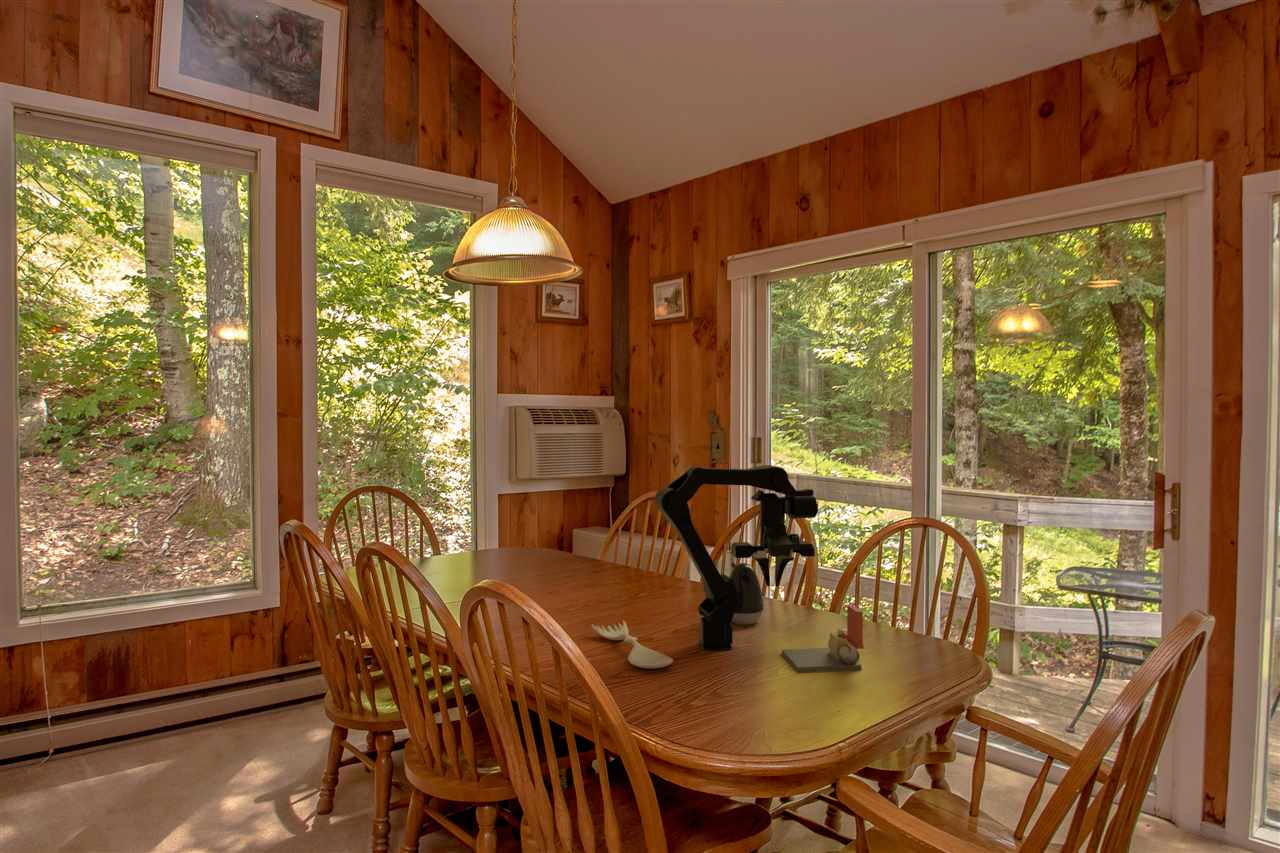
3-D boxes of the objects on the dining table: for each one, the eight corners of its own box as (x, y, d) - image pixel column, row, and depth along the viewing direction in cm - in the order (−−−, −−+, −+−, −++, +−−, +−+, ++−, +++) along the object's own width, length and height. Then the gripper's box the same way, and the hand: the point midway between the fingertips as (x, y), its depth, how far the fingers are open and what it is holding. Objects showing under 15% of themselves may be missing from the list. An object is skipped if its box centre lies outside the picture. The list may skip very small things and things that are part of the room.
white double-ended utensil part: (624, 632, 192) (624, 618, 191) (680, 672, 162) (680, 656, 162) (589, 636, 188) (589, 622, 188) (640, 678, 159) (640, 661, 158)
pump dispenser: (748, 615, 206) (748, 557, 206) (771, 624, 197) (771, 564, 196) (715, 619, 202) (715, 561, 201) (737, 629, 192) (737, 568, 192)
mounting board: (798, 672, 161) (798, 667, 161) (781, 654, 173) (781, 649, 173) (861, 669, 162) (861, 664, 162) (840, 651, 174) (840, 647, 174)
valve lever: (836, 633, 168) (836, 599, 167) (846, 633, 168) (846, 598, 168) (854, 649, 156) (854, 612, 156) (866, 649, 157) (866, 612, 156)
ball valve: (840, 665, 162) (840, 641, 162) (826, 652, 171) (826, 629, 171) (861, 664, 162) (861, 641, 162) (845, 651, 171) (845, 628, 171)
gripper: (741, 525, 173) (741, 595, 173) (822, 523, 175) (822, 593, 175) (730, 518, 184) (730, 584, 184) (807, 517, 186) (807, 582, 186)
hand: (772, 586), depth 182 cm, fingers closed
